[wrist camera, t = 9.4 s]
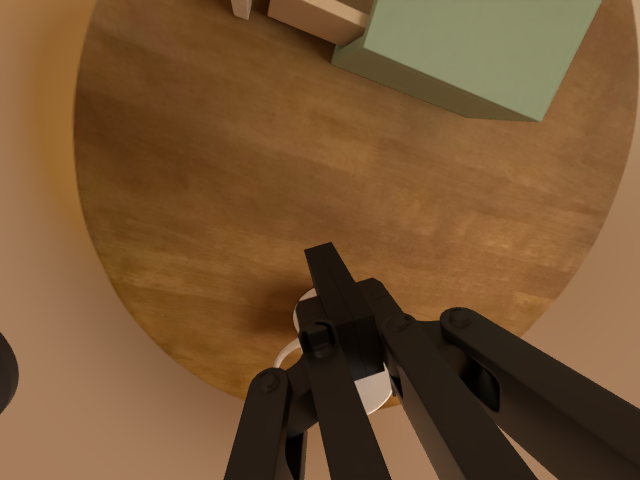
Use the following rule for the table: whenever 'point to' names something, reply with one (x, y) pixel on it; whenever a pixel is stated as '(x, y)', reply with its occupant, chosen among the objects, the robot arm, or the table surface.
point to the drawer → (318, 17)
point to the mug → (369, 388)
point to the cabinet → (472, 52)
